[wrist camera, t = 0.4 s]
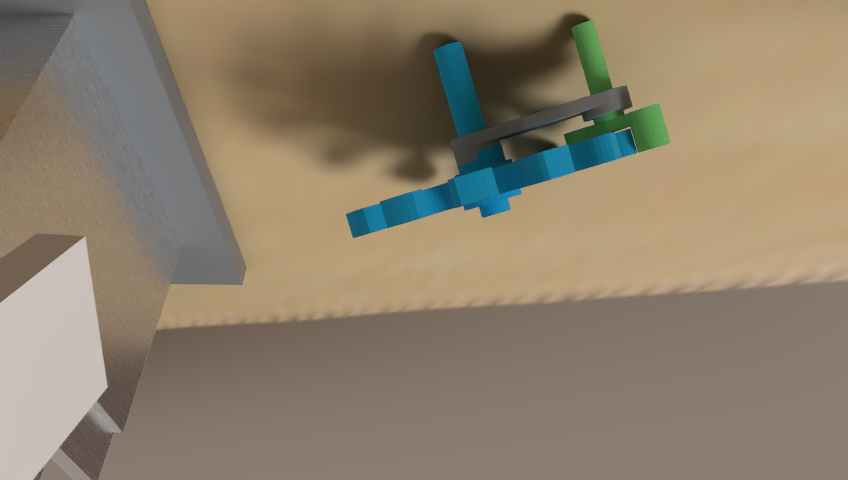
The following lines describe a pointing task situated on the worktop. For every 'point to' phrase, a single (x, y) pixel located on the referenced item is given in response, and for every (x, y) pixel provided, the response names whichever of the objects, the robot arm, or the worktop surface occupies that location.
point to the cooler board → (156, 129)
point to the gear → (480, 146)
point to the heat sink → (83, 205)
